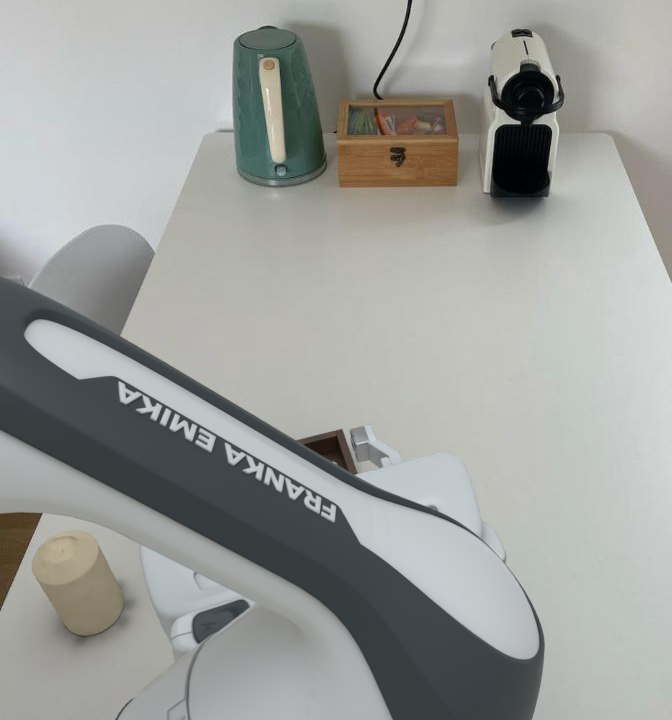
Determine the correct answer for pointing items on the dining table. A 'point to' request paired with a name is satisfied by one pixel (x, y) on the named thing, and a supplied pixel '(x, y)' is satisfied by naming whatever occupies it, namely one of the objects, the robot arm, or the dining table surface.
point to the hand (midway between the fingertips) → (292, 449)
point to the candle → (78, 582)
